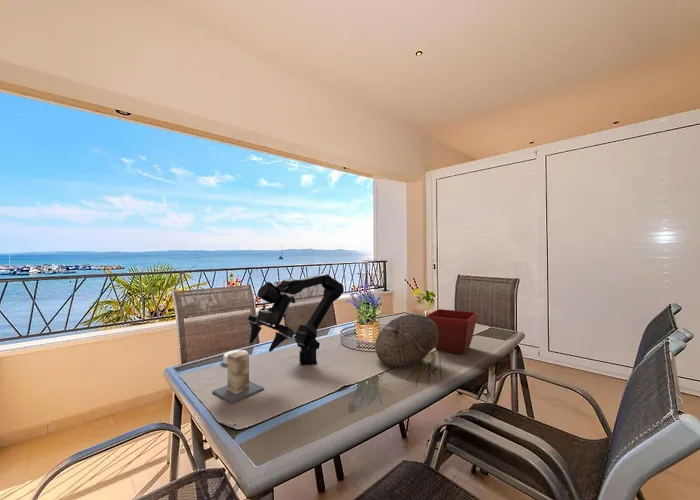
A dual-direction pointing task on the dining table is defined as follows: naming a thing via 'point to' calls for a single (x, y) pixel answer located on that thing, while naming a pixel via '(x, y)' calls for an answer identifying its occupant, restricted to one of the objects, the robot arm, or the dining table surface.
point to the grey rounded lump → (406, 341)
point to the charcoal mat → (233, 397)
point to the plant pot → (454, 329)
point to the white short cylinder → (230, 353)
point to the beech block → (238, 372)
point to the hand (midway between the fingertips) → (259, 347)
